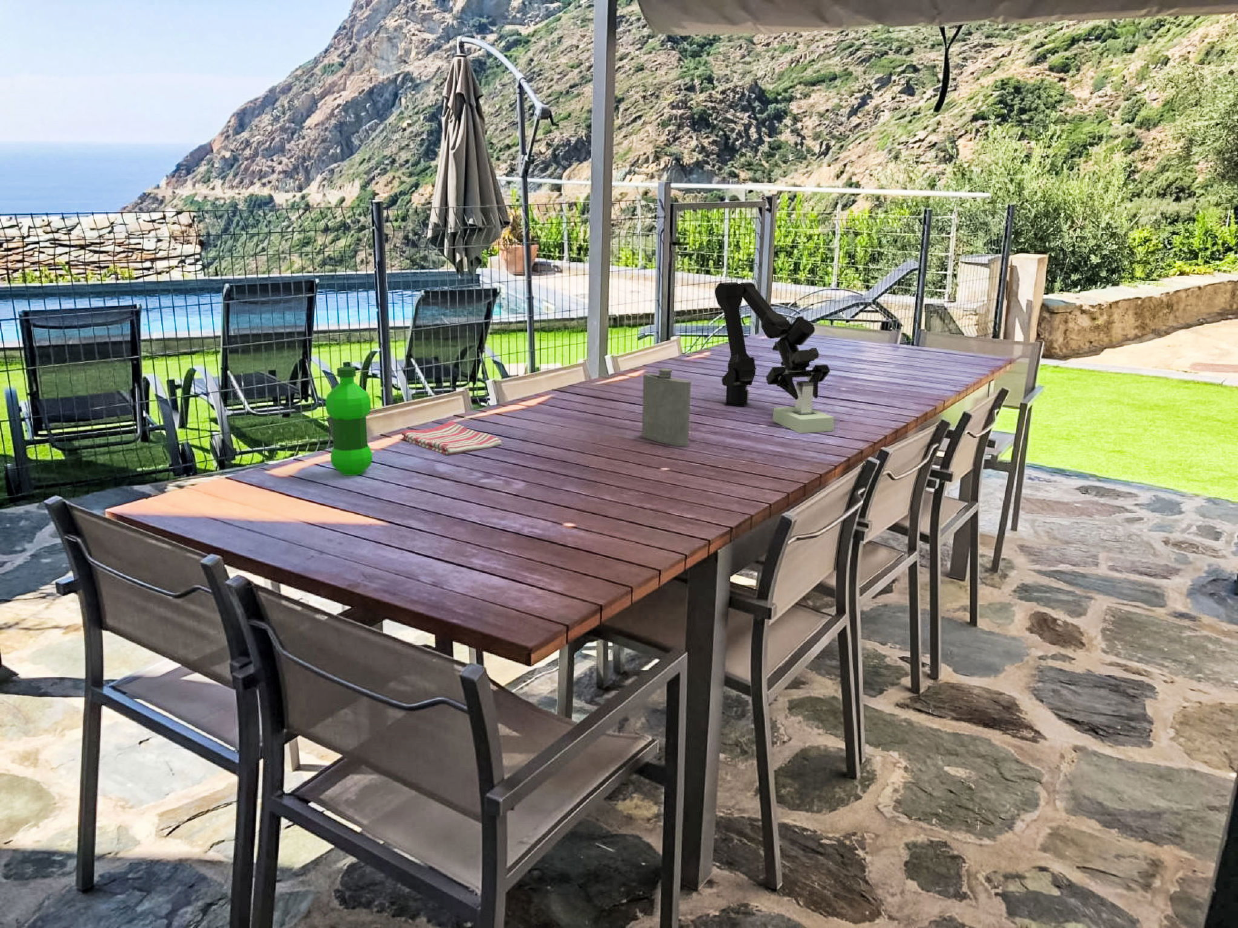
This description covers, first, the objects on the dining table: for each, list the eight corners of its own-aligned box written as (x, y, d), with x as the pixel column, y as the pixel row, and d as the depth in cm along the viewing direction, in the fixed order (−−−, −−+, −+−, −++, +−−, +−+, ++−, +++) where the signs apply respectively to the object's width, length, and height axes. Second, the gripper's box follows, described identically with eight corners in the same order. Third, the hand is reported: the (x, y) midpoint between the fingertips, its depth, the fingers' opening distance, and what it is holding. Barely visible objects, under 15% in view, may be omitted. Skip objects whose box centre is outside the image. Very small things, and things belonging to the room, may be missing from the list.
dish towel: (452, 431, 270) (452, 419, 269) (503, 447, 254) (502, 434, 253) (399, 441, 258) (399, 428, 257) (449, 458, 242) (448, 445, 241)
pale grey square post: (794, 424, 282) (796, 381, 279) (804, 424, 283) (807, 380, 280) (800, 427, 279) (802, 383, 276) (810, 426, 280) (813, 382, 277)
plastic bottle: (321, 475, 224) (313, 370, 217) (348, 464, 233) (342, 363, 227) (356, 480, 220) (350, 373, 214) (383, 469, 230) (378, 366, 223)
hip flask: (690, 445, 257) (693, 371, 252) (681, 447, 255) (683, 373, 249) (647, 434, 268) (649, 364, 263) (637, 436, 265) (639, 365, 260)
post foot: (772, 421, 287) (773, 408, 286) (804, 418, 290) (805, 405, 289) (800, 433, 272) (801, 419, 271) (833, 430, 276) (834, 417, 275)
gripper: (773, 339, 275) (790, 384, 268) (829, 337, 281) (847, 381, 274) (758, 362, 284) (774, 405, 277) (813, 359, 290) (830, 402, 283)
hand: (807, 398), depth 278 cm, fingers open, 6 cm apart
